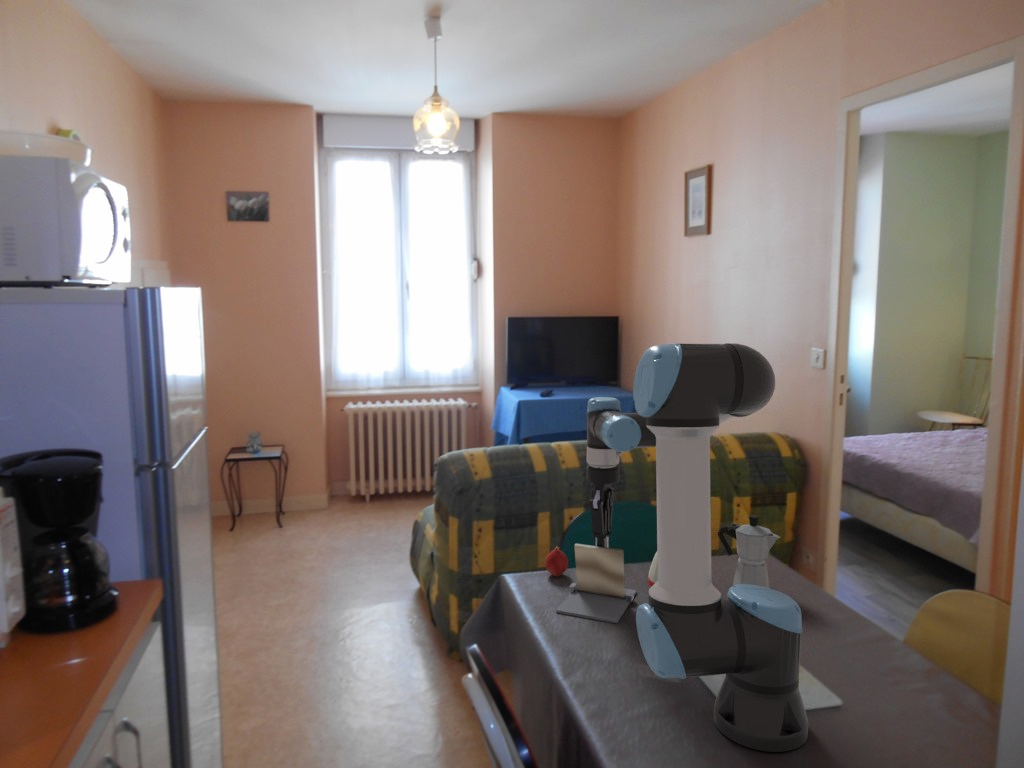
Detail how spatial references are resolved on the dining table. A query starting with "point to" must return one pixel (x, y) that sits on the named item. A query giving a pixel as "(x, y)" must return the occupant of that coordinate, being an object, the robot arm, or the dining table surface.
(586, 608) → the base plate
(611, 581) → the flap
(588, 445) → the robot arm
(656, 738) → the dining table surface
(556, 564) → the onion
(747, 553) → the coffee maker
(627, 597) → the hinge blocks
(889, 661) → the dining table surface
